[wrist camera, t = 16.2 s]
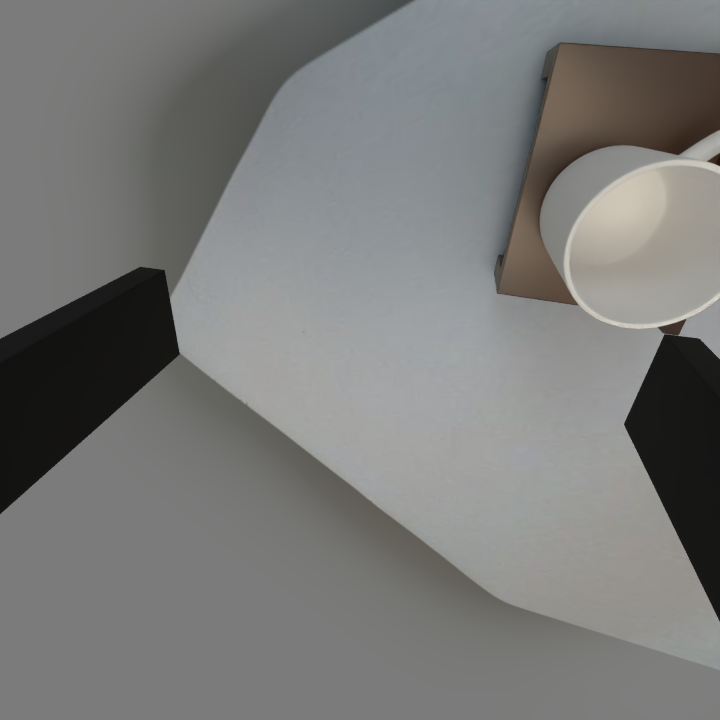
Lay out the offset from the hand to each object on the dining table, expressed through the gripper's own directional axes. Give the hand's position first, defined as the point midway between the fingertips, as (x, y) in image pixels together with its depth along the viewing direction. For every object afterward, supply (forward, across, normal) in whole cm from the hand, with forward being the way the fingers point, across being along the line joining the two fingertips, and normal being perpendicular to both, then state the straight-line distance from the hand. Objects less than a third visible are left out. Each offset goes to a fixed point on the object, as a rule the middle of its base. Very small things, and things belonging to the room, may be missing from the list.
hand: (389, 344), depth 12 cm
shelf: (+28, +12, +1) cm, 31 cm away
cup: (+24, +12, +1) cm, 27 cm away
